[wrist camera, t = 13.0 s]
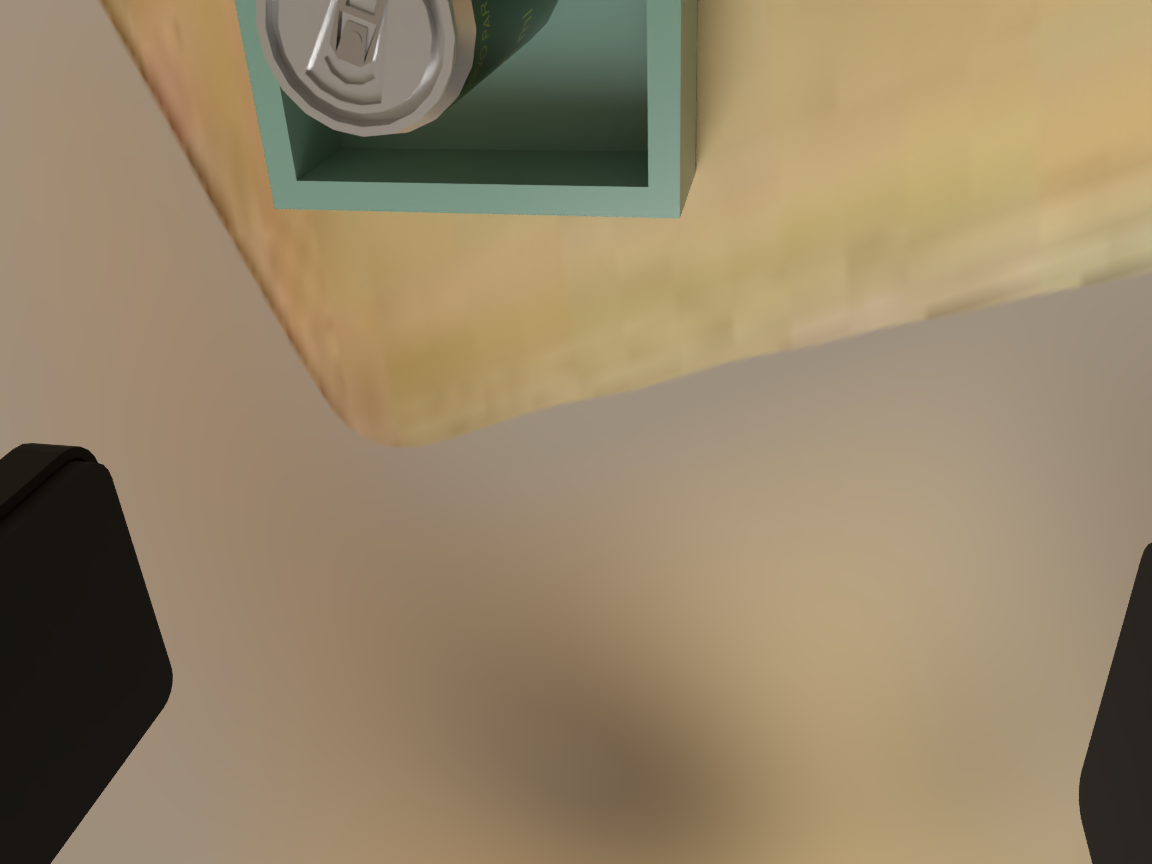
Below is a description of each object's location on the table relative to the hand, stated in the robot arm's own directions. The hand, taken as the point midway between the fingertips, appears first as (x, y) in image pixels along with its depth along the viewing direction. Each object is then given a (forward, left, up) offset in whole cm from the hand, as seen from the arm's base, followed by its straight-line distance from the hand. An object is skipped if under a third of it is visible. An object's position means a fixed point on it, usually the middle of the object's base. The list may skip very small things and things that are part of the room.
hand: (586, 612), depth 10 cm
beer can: (+9, -2, -30) cm, 31 cm away
